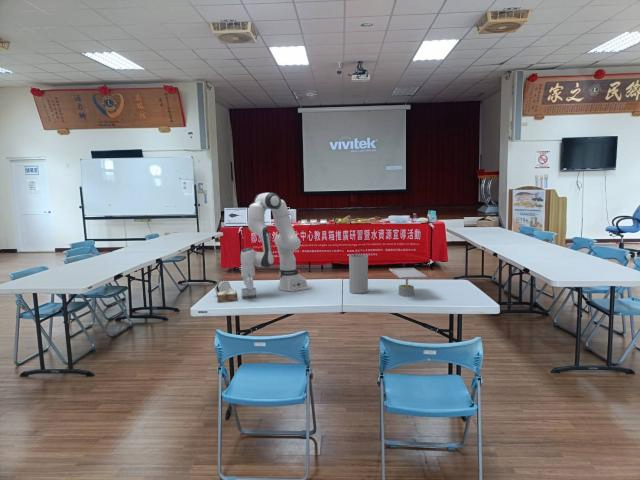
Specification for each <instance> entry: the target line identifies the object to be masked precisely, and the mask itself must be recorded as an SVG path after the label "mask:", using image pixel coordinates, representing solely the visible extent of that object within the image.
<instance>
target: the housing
mask: <svg viewBox="0 0 640 480" xmlns="http://www.w3.org/2000/svg"><path fill="white" fill-rule="evenodd" d="M240 290H241V299H242V300H249V299H250V300H251V299H257V288H256V287H253V290H251V295H248V289H247V288H246V287H245V288H241V289H240Z"/></svg>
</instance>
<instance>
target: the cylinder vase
mask: <svg viewBox="0 0 640 480" xmlns="http://www.w3.org/2000/svg"><path fill="white" fill-rule="evenodd" d="M348 261H349V262H348V265H349V266H348V270H349V272H348V274H349V275H348V276H349V278H348V279H349V281H348V283H349V285H348V286H349V288H348V289H349V292H350V293H352V294H354V293H356V294H357V295H362V293H363V294H366V293H368V291H369V276H368V275H369V268H368V267H369V255H368V254H362V253H358V254H357V253H355V254H354V253H352V254H349V257H348Z"/></svg>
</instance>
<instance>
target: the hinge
mask: <svg viewBox="0 0 640 480" xmlns="http://www.w3.org/2000/svg"><path fill="white" fill-rule="evenodd" d="M214 289H215V293H216V294H217V292H223V291H234V288H232V286H231V284H230V281H227V280H223V281H220V282H218V283H216V284H215V287H214Z"/></svg>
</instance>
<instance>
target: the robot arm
mask: <svg viewBox="0 0 640 480" xmlns="http://www.w3.org/2000/svg"><path fill="white" fill-rule="evenodd" d="M267 210H270V211H271V212H272V216H273V221H274V226H275V229H276V230H277V231H278V234H276V236H275V237H274V244H275V246H276V249H277V252H278V256H279V273H278V274H279V285H278V287H277V288H278V290H279V291H283V292H284V291H285V292H291V293H292V292H297V291H305V290H311V286H310V285H309V284H308V281H307V279H306V278H305V277H304V276H302V275H301V274H300V273H301V270H300V269H298V268H297V265H296V256H295V255H294V251H297V250H298V249H300V247H301V244H302V243H301V240H300V238H299V237H298V235H297V233H296V231H295V229H294V227H293V225H292V220H291V218H290V212H289V209H288V207H287V204H286V201H285V200H284V199H281V198H280V196H279V195H278V194H277V193H274V192H262V193H258V194H256V195H255V197H254V199H253V202H252V203H250V205H249V206H248V212H247V228H248V229H249V231H250V232H251V233H253V234H255V235H256V236H258V237H259V238H260V239H261V242H262V243H261V244H262V250H263V251H256V250H254V249H253V247H246V248H243V249H241V251H240V264H241V266H240V275H241V277H242V279H243V284H244V286H245V288H247V289H248V295H251V290H253V288H254V277H255V276H256V267H262V268H266V269H268V268H271V266H273V264H274V262H275V259H274V254H273V248H272V241H271V236H270V230H269V229H268V228H267V227H266V226H267V225H266V223H265V222H266V221H265V213H266V211H267ZM255 266H256V267H255Z"/></svg>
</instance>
